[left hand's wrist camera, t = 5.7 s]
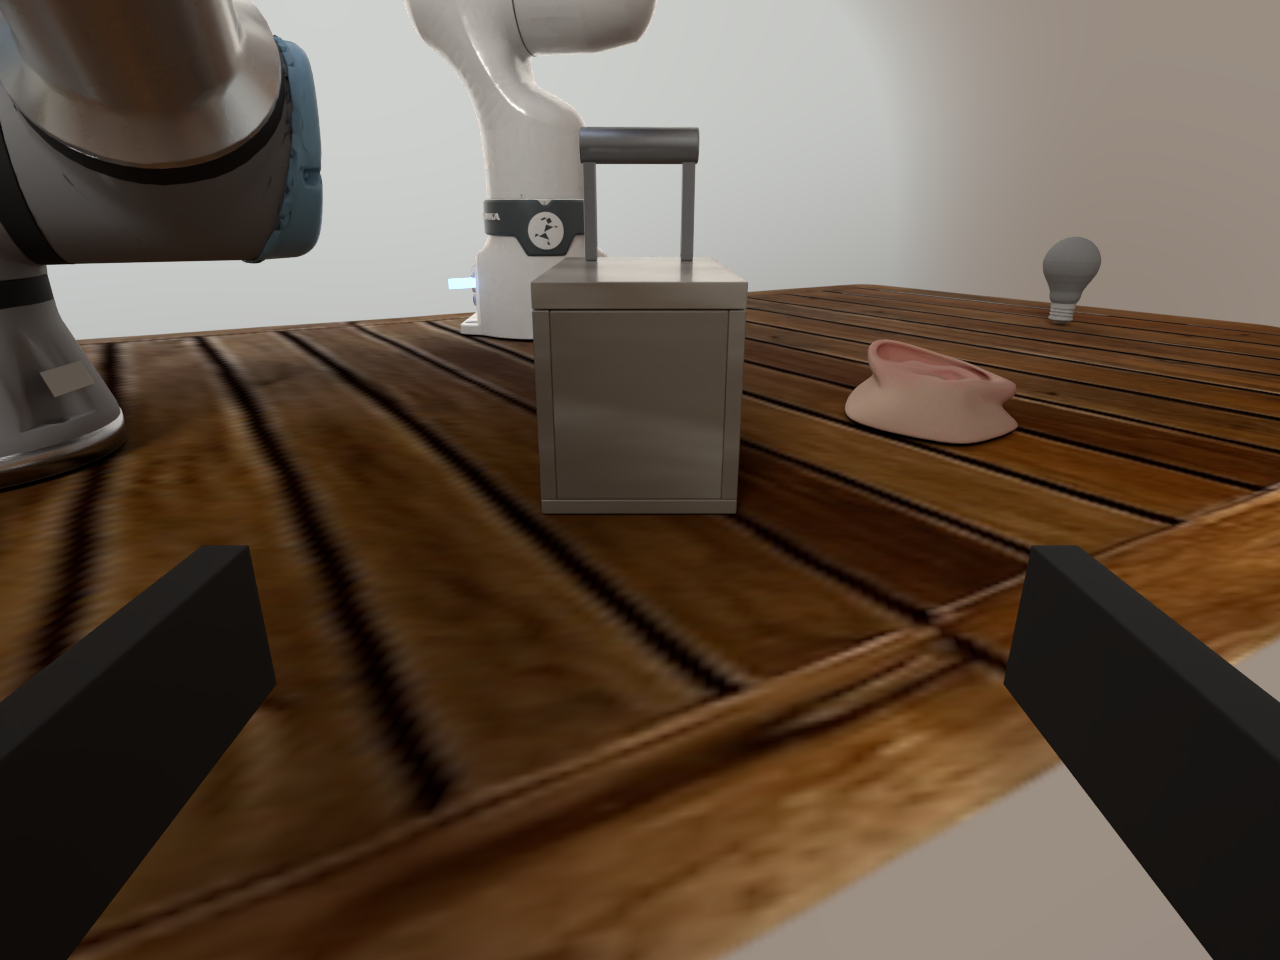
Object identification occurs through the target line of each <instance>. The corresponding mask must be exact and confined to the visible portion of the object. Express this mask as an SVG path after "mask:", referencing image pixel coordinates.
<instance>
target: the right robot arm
mask: <svg viewBox="0 0 1280 960" xmlns="http://www.w3.org/2000/svg"><path fill="white" fill-rule="evenodd" d="M404 5H405V9H406V12H407V14H408V17H409V19H410V21H411V24H412V25H413V27H414V29H415V31H416V32H417V34H418V35H419V36H420V38H421V39H422V40H423V41H424V42H425V43H426V45H428V47H430V48H431V49H432V50H433V51H435V52H436V53H437V54H438V55H440V56H441V57H442V58H443V59H444V60H445V61H446V62H447V63H448V64H449V66H450V67H451V68H452V69H453V70H454V72H455V73H456V74H457V76H458V77H459V79H460V80H461V82H462V84H463V85H464V87H465V89H466V91H467V93H468V95H469V97H470V99H471V102H472V104H473V106H474V109H475V112H476V116H477V119H478V124H479V129H480V134H481V141H482V149H483V157H484V166H485V176H486V188H487V199H584V192H583V164H581V162H580V157H579V129H580V127H586V126H585V123H584V121H583V119H582V117H581V116H580V114H579V113H578V112H577V111H576V110H575V109H574V108H573V107H572V106H571V105H569V104H568V103H566V102H565V101H563V100H562V99H560V98H558V97H557V96H555V95H553V94H551V93H549V92H547V91H545V90H543V89H541V88H539V87H538V86H537V84H536V81H535V79H534V76H533V71H532V57H536V56H541V55H570V54H596V53H600V52H604V51H608V50H612V49H616V48H619V47H622V46H626V45H629V44H633V43H636V42H638V41H639V40H640V39H641V38H642V36H643V35H644V33H645V32H646V30H647V29H648V27H649V25H650V23H651V21H652V18H653V16H654V13H655V9H656V5H657V0H404ZM483 219H484V224H485V233H486V234H487V235H488V239H487V241H486V243H485V245H484V247H483V248H482V249H481V250H480V251H479V252H478V254H477V255H476V256H475V257H474V266H473V267H472V278H462V279H449V288H450V289H455V288H472V289H473V292H475V293H476V294H474V297H473V300H474V304H475V306H477V312H476V313H475V314H474V315H472V316H471V317H470V318H468V319H467V320H466V321H464V322H463V323H462V324H461V331H460V333H462V334H474V335H487V336H493V337H500V338H512V339H533V325H532V311H533V310H534V309H532V305H531V285H530V283H531V282H532V281H533V280H534V279H536V278H537V277H539V276H540V275H542V274H543V273H544V272H546V271H547V270H549V269H550V268H552V267H553V266H554V265H556V264H557V263H559V262H560V261H562V260H563V259H564V258H566V257H585V233H584V200H485V201H484V213H483ZM597 255H598V257H607V255H606V254H605V253H604V252H603V251H602V250H601V249H600V248H598V247H597Z"/></svg>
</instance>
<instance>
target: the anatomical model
mask: <svg viewBox="0 0 1280 960" xmlns="http://www.w3.org/2000/svg"><path fill="white" fill-rule="evenodd" d="M868 362H869V366H870V368H871V370H872V372H873V375H872V376H871V377H870V378H869V379H867V380H866V381H864V382H863V383H861V384H860V385H859V386H858V387H857V388H856V389H855V390H854V391H853V392H852V393H851V395H850V396H849V397H848V400H847V402H846V405H845V411H846V414H847V416H848V417H849V418H851V419H852V420H854V421H855V422H858V423H860V424H863V425H866V426H869V427H872V428H875V429H879V430H883V431H887V432H891V433H895V434H900V435H905V436H910V437H914V438H919V439H925V440H931V441H937V442H944V443H954V444H969V443H977V442H981V441H986V440H989V439H992V438H996V437H999V436H1002V435H1005V434H1007V433H1009V432H1011V431H1013V430H1015V429H1016V428H1017V426H1018V425H1017V422H1016V421H1015V420H1014V419H1013V418H1012V417H1011V416H1010V415H1009V414H1008V413H1007V412H1006V411H1005V410H1004V409H1003V407H1002V404H1003V403H1004V402H1006V401H1007V400H1009V399H1010V398H1012V397H1013V396H1014V395H1015V393H1016V385H1015V384H1014V383H1013V382H1011V381H1009V380H1007V379H1005V378H1002V377H1000V376H998V375H995V374H993V373H991V372H988V371H986V370H984V369H982V368H979V367H977V366H975V365H972V364H969V363H967V362H964V361H961V360H958V359H955V358H952V357H949V356H946V355H942V354H939V353H936V352H933V351H930V350H927V349H924V348H920V347H917V346H913V345H910V344H906V343H902V342H898V341H893V340H878V341H875V342H873V343H872V344H871V345H870V347H869V350H868Z"/></svg>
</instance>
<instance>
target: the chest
mask: <svg viewBox="0 0 1280 960" xmlns="http://www.w3.org/2000/svg"><path fill="white" fill-rule="evenodd" d="M532 325H533V345H534V365H535V385H536V405H537V425H538V446H539V466H540V486H541V499H542V500H541V504H542V513H543V514H735V513H736V509H737V500H736V499H737V490H738V470H739V450H740V430H741V410H742V390H743V369H744V349H745V329H746V310H745V309H534V310H533V311H532Z"/></svg>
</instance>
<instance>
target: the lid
mask: <svg viewBox="0 0 1280 960" xmlns="http://www.w3.org/2000/svg"><path fill="white" fill-rule="evenodd" d="M698 156H699V129H698V127H580V129H579V157H580V162H581V164H583V192H584V233H585V257H566V258H564V259H563V260H562V261H560V262H559V263H557V264H556V265H554V266H553V267H552V268H550V269H549V270H547V271H546V272H544V273H543V274H542V275H540V276H539V277H537V278H536V279H534V280H533V281H532V282H531V283H530V285H531V305H532V309H746V308H747V290H748V282H747V281H745V280H744V279H742V278H741V277H739V276H738V275H736V274H735V273H734V272H732V271H731V270H729V269H728V268H726V267H725V266H723V265H722V264H721V263H719V262H718V261H716V260H715V259H713V258H712V257H693V235H694V194H695V164H697V162H698ZM596 164H682V200H681V255H680V257H598V255H597V202H596Z"/></svg>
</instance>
